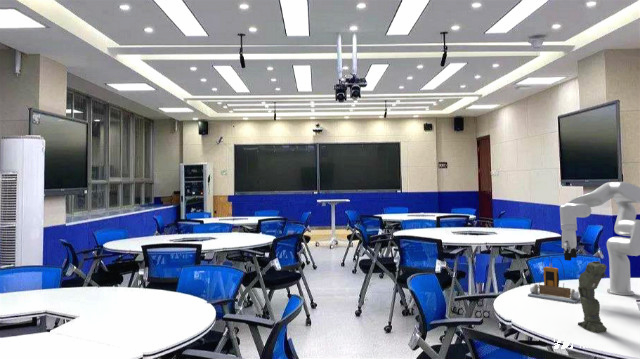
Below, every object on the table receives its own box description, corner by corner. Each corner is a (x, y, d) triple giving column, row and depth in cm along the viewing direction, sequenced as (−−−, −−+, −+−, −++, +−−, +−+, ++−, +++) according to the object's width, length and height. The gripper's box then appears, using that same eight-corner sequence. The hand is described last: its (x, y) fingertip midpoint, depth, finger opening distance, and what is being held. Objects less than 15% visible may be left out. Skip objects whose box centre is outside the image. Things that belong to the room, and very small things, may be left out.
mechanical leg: (569, 320, 188) (578, 256, 181) (584, 319, 188) (594, 256, 182) (591, 338, 174) (602, 270, 168) (607, 337, 175) (619, 269, 168)
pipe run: (535, 292, 243) (535, 281, 243) (581, 299, 227) (580, 287, 227) (527, 296, 234) (527, 285, 234) (574, 303, 218) (574, 291, 218)
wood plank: (538, 294, 235) (538, 284, 235) (539, 293, 236) (539, 284, 236) (570, 298, 224) (569, 289, 224) (571, 297, 226) (570, 288, 226)
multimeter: (571, 290, 247) (570, 256, 248) (563, 292, 241) (562, 257, 242) (546, 285, 259) (545, 253, 260) (537, 288, 254) (536, 254, 254)
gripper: (566, 225, 239) (568, 256, 238) (556, 228, 226) (558, 260, 226) (581, 226, 233) (583, 257, 233) (571, 229, 221) (573, 262, 221)
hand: (570, 258), depth 229 cm, fingers open, 9 cm apart
